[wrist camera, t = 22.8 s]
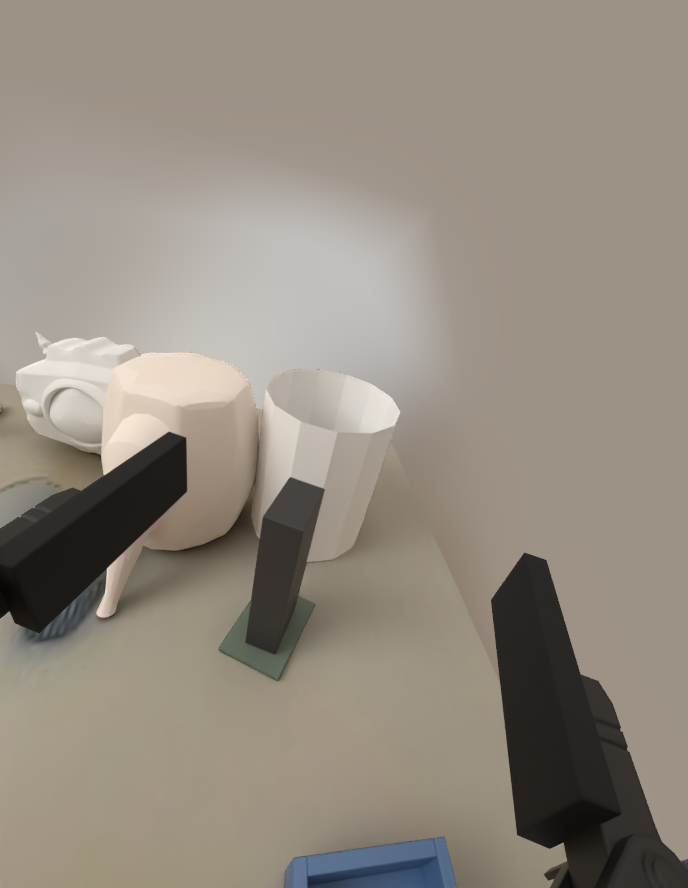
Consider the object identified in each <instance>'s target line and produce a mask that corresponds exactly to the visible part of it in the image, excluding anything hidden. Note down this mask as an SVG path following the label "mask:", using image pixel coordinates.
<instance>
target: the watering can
mask: <svg viewBox="0 0 688 888" xmlns="http://www.w3.org/2000/svg"><path fill="white" fill-rule="evenodd" d="M167 432H171V433H174V434H177V435H180V436H183V437H186V443H187V492H186V493H185V494H184V495H183V496H182V497H181V498H180V499H179V500H178V501H177V502H176V503H175V504H174V505H173V506H172V507H171V508H170V509H169V510H167V511H166V512H165V513H164V514H163V515H162V516H161V517H160V518H159V519H158V520H157V521H156V522H155V523H154V524H153V525H152V526H151V527H150V528H149V529H148V530H147V531H146V532H144V533H143V534H142V535H141V536H140V537H139V538H138V539H137V540H136V541H135V542H134V543H133V544H132V545H131V546H130V547H129V548H128V549H127V550H126V551H125V552H124V553H123V554H121V555H120V556H119V557H118V558H117V559H116V560H115V561H114V562H113V563H112V564H111V565H110V566H109V567H108V568H107V578H106V589H105V595H104V597H103V599H102V602H101V604H100V606H99V608H98V610H97V615H98V616H99V617H103V618H104V617H109V616H111V615H113V614H114V613H115V611H116V608H117V604H118V600H119V598H120V596H121V594H122V592H123V589H124V587H125V585H126V583H127V581H128V578H129V576H130V574H131V572H132V570H133V568H134V565H135V563H136V561H137V559H138V557H139V555H140V552H141V550H142V548H143V546H145V547H147V548H149V549H153V550H171V551H179V550H183V549H187V548H191V547H195V546H199V545H203V544H205V543H207V542H209V541H212V540H214V539H216V538H218V537H220V536H223V535H225V534H226V533H227V532H228V530H229V529H230V528H231V527H232V526H233V524H234V523H235V522H236V520H237V518H238V517H239V515H240V513H241V511H242V509H243V507H244V505H245V503H246V501H247V499H248V497H249V495H250V493H251V490H252V488H253V485H254V483H255V478H256V470H257V459H258V451H259V437H258V416H257V411H256V406H255V401H254V396H253V392H252V388H251V385H250V382H249V381H248V380H247V379H246V378H245V377H244V376H243V375H242V374H241V373H240V372H239V371H238V370H237V369H236V368H235V367H234V366H233V365H232V364H230V363H228V362H225V361H220V360H216V359H212V358H209V357H205V356H201V355H199V354H195V353H192V352H183V353H146V354H143V355H141V356H139V357H136V358H134V359H132V360H129V361H127V362H125V363H123V364H121V365H119V366H117V367H115V368H114V370H113V373H112V375H111V378H110V382H109V386H108V390H107V394H106V398H105V403H104V407H103V426H102V446H101V460H102V467H103V473H104V475H106V474H107V473H109V472H110V471H111V470H113V469H114V468H116V467H117V466H119V465H120V464H122V463H123V462H125V461H126V460H128V459H129V458H131V457H132V456H134V455H135V454H136V453H138V452H139V451H141V450H142V449H144V448H145V447H147V446H148V445H150V444H151V443H153V442H154V441H156V440H157V439H158V438H160V437H161V436H163V435H164V434H166V433H167Z"/></svg>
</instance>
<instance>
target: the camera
mask: <svg viewBox="0 0 688 888" xmlns="http://www.w3.org/2000/svg"><path fill="white" fill-rule="evenodd" d="M35 333H36V336H37V338H38V340H39V346H40V347H42V348H43V354H47V356H46V359H44V360H42V361H39V362H37V363H34V364H32V365H29V366H27V367H24V368H22V369H20V370H18V371H17V372H16V388H17V390H18V392H19V393H20V395H21V399H22V404H23V407H24V409H25V410H26V412H27V419H28V421H29V423H30V424H31V426H32V427H33V428H34V430H35V431H36V432H37V433H38V434H40V435H43V436H45V437H48V438H51V439H54V440H57V441H60V442H63V443H65V444H68V445H71V446H73V447H75V448H77V449H79V450H81V451H84V452H87V453H97V454H99V455H101V446H102V426H103V407H104V403H105V398H106V394H107V390H108V386H109V382H110V378H111V375H112V373H113V370H114V368H115V367H117V366H119V365H121V364H123V363H125V362H127V361H129V360H132V359H134V358H136V357H139V356H141V355H140V353H139V352H138V350H137V349H136V348H135V347H134V346H132V345H129V344H123V345H117V344H115V343H113V342H112V341H110V340H109V339H108V338H105V337H99V338H95V339H93V340H90V341H86V340H84V339H81V338H69V339H65V340H62V341H59V342H56V343H54V344H51V342H50V341H49V340H47V339H45V338H43V336H41V335H40V333H38V332H37V331H35Z"/></svg>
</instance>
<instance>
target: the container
mask: <svg viewBox="0 0 688 888" xmlns="http://www.w3.org/2000/svg"><path fill="white" fill-rule="evenodd" d="M399 415H400V411H399V409H398V407H397V406H396V404H395V403H394V401H393V399H392V398H391V397H390V396H388V395H387V394H385V393H384V392H383V391H381V390H380V389H378V388H377V387H375V386H374V385H372V384H370V383H367V382H364V381H362V380H360V379H357V378H354V377H352V376H349V375H346V374H341V373H335V372H330V371H325V370H320V369H307V370H306V369H302V370H301V369H299V370H290V371H287V372H284V373H281V374H278V375H275V376H273V378H272V379H271V381H270V383H269V384H268V386H267V387H266V391H265V399H264V408H263V416H262V425H261V434H260V442H259V451H258V459H257V470H256V478H255V485H254V493H253V502H252V510H251V518H252V521H253V525H254V528H255V531H256V535H257V537H258V538H260V534H261V527H262V520H263V516H264V514H265V513H266V511H267V510H268V508H269V507H270V506H271V504H272V503H273V501H274V500H275V498H276V497H277V495H278V494H279V492H280V491H281V489H282V488H283V486H284V485H285V483H286V482H287V480H288V479H289V478H290V477H292V478H295V479H297V480H300V481H303V482H306V483H309V484H312V485H315V486H318V487H320V488H323V489H325V491H324V495H323V499H322V503H321V507H320V511H319V515H318V519H317V523H316V527H315V531H314V535H313V539H312V543H311V546H310V550H309V554H308V558H307V562H315V561H325V560H334V559H335V558H337V557H338V556H340V555H341V554H343V553H345V552H346V551H348V550H349V549H351V548H352V547H353V546H354V544H355V541H356V539H357V536H358V534H359V531H360V529H361V526H362V523H363V520H364V517H365V514H366V511H367V508H368V505H369V502H370V499H371V497H372V494H373V491H374V488H375V485H376V482H377V479H378V476H379V473H380V470H381V467H382V465H383V462H384V459H385V456H386V453H387V450H388V447H389V444H390V441H391V438H392V435H393V433H394V430H395V427H396V424H397V421H398V418H399Z"/></svg>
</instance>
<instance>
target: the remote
mask: <svg viewBox="0 0 688 888" xmlns="http://www.w3.org/2000/svg"><path fill="white" fill-rule="evenodd" d="M324 491H325V489H323V488H320V487H318V486H315V485H312V484H309V483H306V482H303V481H300V480H297V479H295V478H292V477H290V478H289V479H288V480H287V482H286V483H285V485H284V486H283V488H282V489H281V491H280V492H279V494H278V495H277V497H276V498H275V500H274V501H273V503H272V504H271V506H270V507H269V508H268V510H267V511H266V513H265V514H264V516H263V520H262V527H261V534H260V541H259V548H258V555H257V562H256V569H255V576H254V583H253V590H252V598H251V605H250V612H249V619H248V626H247V633H246V640H245V643H247V644H250V645H252V646H254V647H257V648H259V649H262V650H264V651H267V652H269V653H272V654H274V655H275V654H276V652H277V650H278V647H279V645H280V643H281V640H282V638H283V636H284V633H285V631H286V628H287V626H288V624H289V621H290V619H291V617H292V614H293V612H294V609H295V606H296V602H297V598H298V594H299V590H300V586H301V582H302V578H303V574H304V570H305V566H306V562H307V558H308V554H309V550H310V546H311V543H312V539H313V535H314V531H315V527H316V523H317V519H318V515H319V511H320V507H321V503H322V499H323V495H324Z"/></svg>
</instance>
